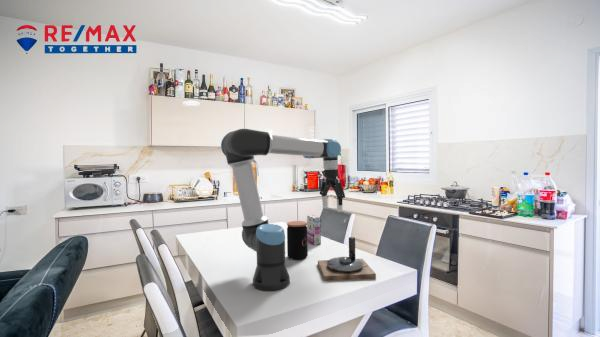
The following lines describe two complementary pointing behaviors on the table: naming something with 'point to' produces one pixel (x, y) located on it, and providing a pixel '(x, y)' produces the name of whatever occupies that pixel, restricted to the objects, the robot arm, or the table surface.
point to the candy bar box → (314, 229)
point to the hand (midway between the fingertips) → (332, 210)
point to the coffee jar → (297, 240)
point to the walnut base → (334, 275)
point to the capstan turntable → (346, 261)
